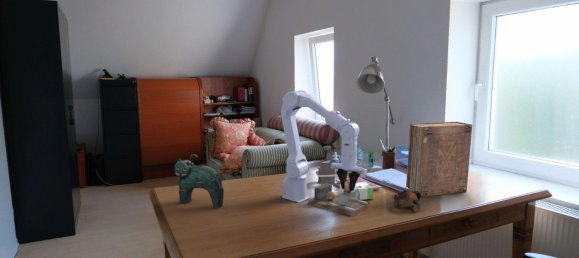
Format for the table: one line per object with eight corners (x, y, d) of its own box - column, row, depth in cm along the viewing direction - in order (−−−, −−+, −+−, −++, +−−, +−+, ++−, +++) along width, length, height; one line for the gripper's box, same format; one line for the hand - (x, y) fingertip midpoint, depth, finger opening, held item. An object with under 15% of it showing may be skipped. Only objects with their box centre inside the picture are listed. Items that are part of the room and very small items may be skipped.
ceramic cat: (174, 203, 150) (172, 153, 147) (184, 198, 156) (182, 150, 153) (218, 210, 143) (217, 158, 140) (226, 204, 149) (226, 154, 146)
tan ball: (324, 200, 151) (325, 191, 150) (329, 197, 153) (330, 189, 153) (332, 202, 149) (332, 193, 148) (337, 199, 151) (337, 191, 151)
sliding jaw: (338, 205, 144) (339, 181, 143) (349, 200, 150) (350, 177, 149) (345, 207, 142) (346, 183, 141) (356, 202, 148) (357, 178, 147)
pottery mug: (412, 216, 140) (401, 196, 141) (395, 219, 148) (385, 200, 149) (431, 202, 146) (421, 182, 147) (414, 205, 155) (404, 187, 155)
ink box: (373, 187, 156) (346, 189, 153) (373, 199, 156) (346, 201, 154) (365, 181, 164) (339, 183, 161) (364, 192, 165) (338, 194, 162)
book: (419, 197, 160) (423, 126, 155) (405, 190, 168) (409, 123, 164) (467, 191, 168) (472, 124, 163) (451, 185, 177) (456, 121, 172)
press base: (308, 203, 151) (308, 187, 150) (325, 196, 160) (325, 181, 159) (352, 216, 138) (352, 199, 137) (368, 207, 148) (368, 191, 146)
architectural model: (310, 190, 169) (310, 166, 167) (303, 179, 185) (303, 157, 183) (350, 189, 172) (351, 165, 170) (339, 178, 188) (340, 156, 186)
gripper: (371, 155, 142) (370, 190, 144) (338, 150, 151) (337, 183, 153) (362, 159, 136) (360, 195, 139) (328, 153, 146) (327, 187, 148)
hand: (347, 189), depth 145 cm, fingers closed on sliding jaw, 3 cm apart
